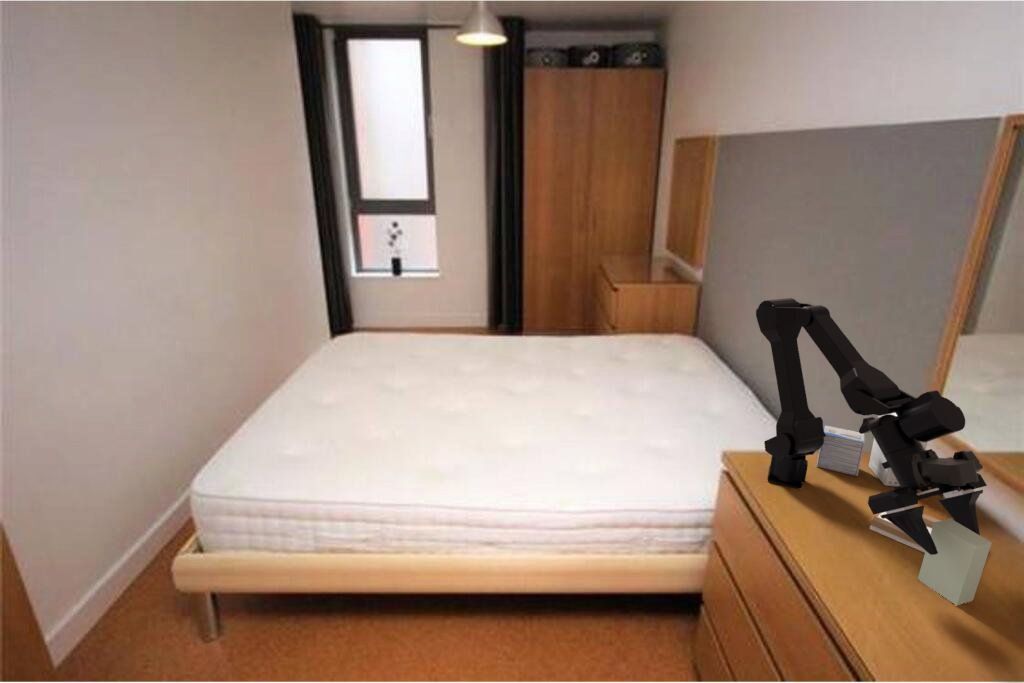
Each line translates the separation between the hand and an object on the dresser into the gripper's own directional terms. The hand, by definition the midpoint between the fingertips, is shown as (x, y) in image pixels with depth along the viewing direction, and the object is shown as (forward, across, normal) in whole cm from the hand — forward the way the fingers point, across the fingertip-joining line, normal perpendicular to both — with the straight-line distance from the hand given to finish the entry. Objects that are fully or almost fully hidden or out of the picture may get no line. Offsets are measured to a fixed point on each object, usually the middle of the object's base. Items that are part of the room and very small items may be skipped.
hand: (956, 547), depth 83 cm
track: (-2, +9, +13) cm, 16 cm away
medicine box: (-18, +14, +29) cm, 37 cm away
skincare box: (-13, +22, +24) cm, 35 cm away
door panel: (+6, 0, +6) cm, 8 cm away
